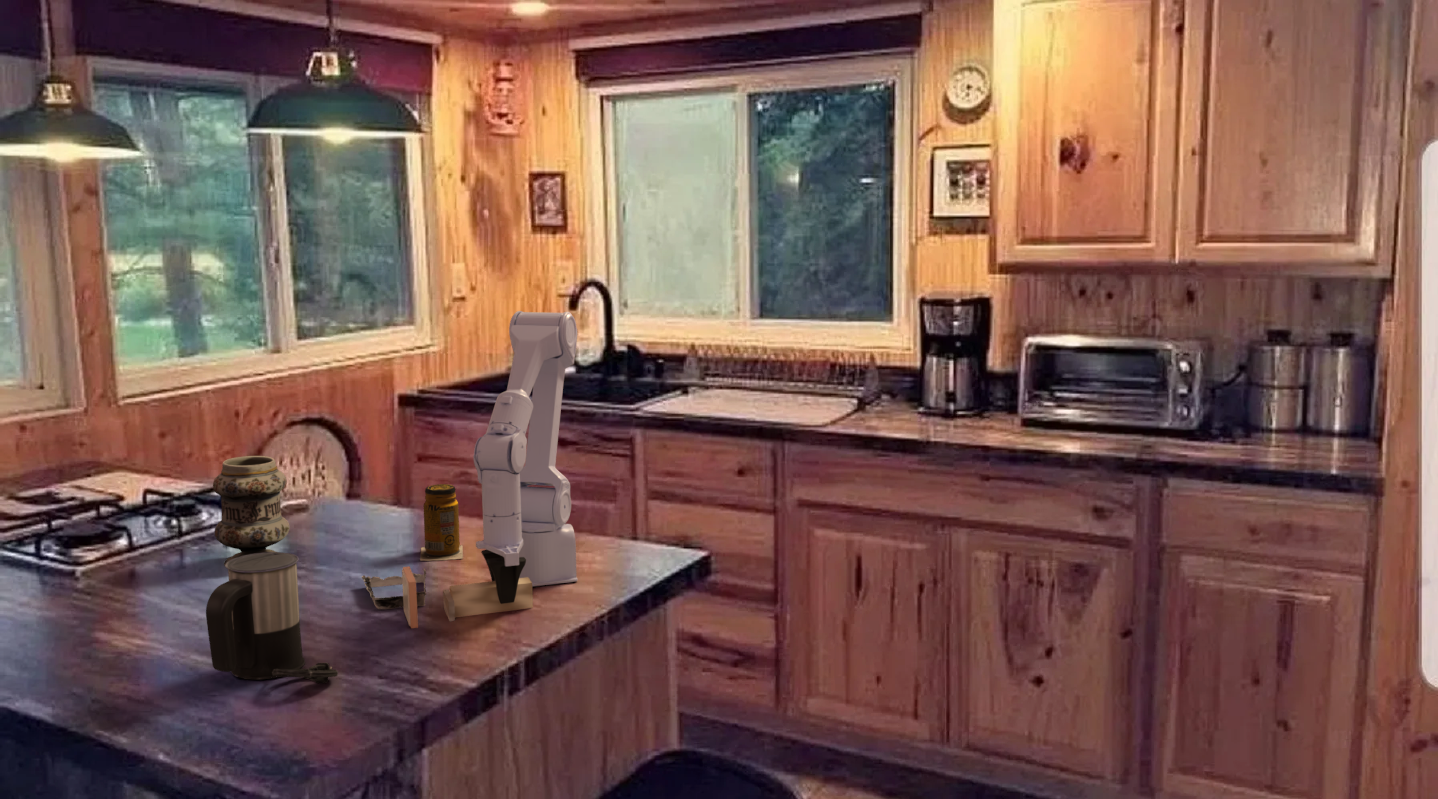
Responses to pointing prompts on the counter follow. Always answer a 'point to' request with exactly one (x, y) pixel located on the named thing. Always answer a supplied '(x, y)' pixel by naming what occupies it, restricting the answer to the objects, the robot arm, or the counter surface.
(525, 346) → the robot arm
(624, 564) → the counter surface
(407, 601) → the tile
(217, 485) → the apothecary jar
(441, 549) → the condiment
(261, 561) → the milk frother
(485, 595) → the wooden block
